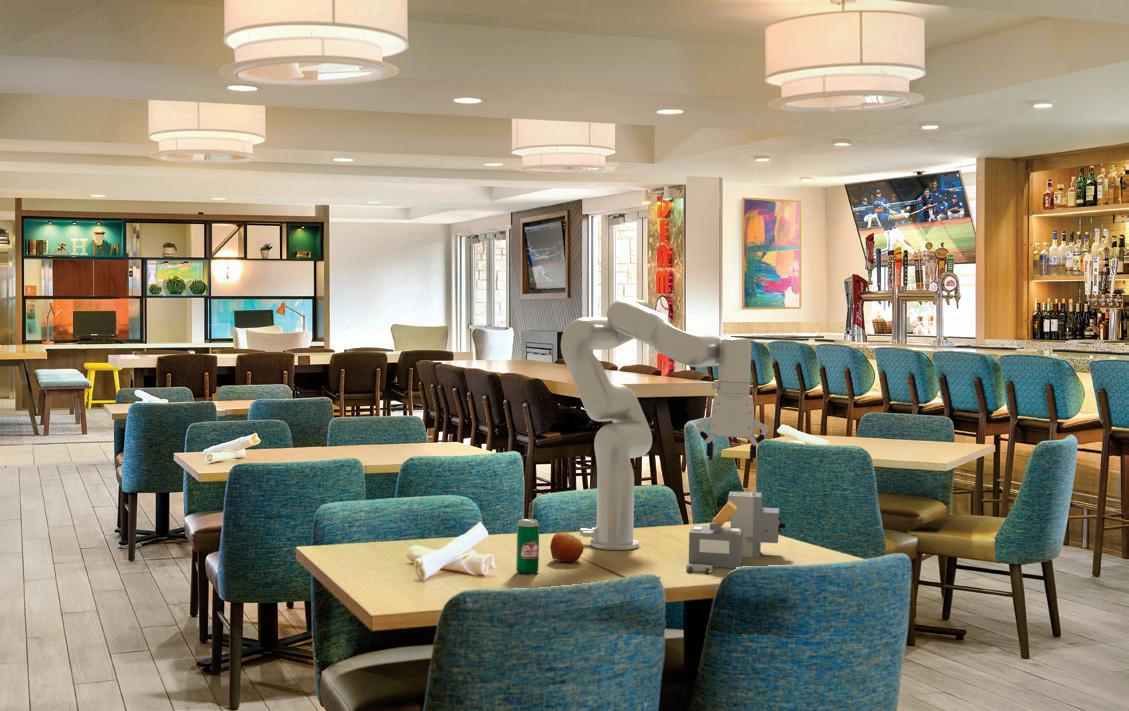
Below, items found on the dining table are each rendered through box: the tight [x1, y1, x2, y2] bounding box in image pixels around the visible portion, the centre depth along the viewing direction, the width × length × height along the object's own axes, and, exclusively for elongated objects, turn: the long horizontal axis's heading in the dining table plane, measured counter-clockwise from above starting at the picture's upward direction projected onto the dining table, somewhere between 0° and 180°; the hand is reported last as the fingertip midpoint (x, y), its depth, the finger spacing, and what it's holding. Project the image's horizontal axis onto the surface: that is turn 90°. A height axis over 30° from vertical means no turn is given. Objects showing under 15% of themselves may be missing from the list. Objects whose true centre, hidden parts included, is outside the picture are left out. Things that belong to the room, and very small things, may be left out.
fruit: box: [549, 531, 585, 565], centre depth 281 cm, size 8×8×8 cm
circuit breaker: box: [726, 491, 787, 558], centre depth 293 cm, size 8×14×15 cm, turn 78°
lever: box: [711, 500, 737, 528], centre depth 281 cm, size 2×6×7 cm
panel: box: [688, 516, 743, 569], centre depth 282 cm, size 12×10×10 cm
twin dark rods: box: [685, 562, 714, 574], centre depth 274 cm, size 6×8×1 cm
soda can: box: [515, 518, 540, 576], centre depth 268 cm, size 5×5×12 cm
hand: (731, 460), depth 281 cm, fingers open, 9 cm apart
